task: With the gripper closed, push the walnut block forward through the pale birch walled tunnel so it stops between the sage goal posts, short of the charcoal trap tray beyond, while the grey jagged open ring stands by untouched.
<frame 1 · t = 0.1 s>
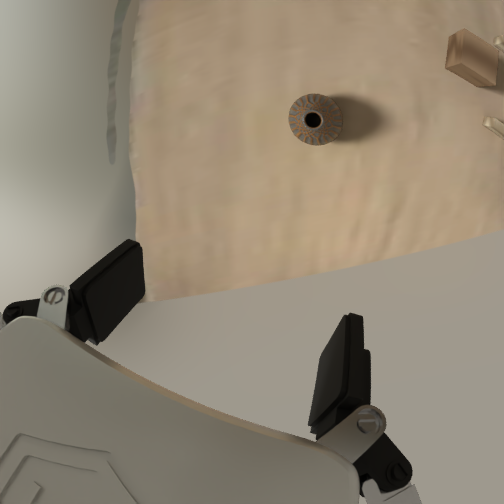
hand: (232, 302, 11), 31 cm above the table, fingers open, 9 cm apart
walnut block: (463, 61, 21), on the table
vase: (317, 119, 34), on the table
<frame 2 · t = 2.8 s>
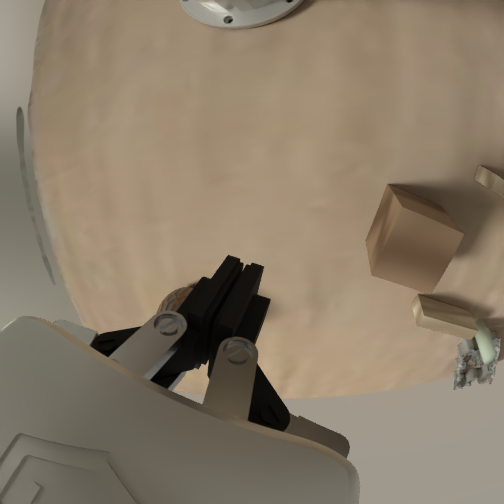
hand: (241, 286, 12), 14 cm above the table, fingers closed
grey jagged open ring: (472, 352, 27), on the table
tunnel: (476, 254, 21), on the table
walnut block: (403, 222, 23), on the table
vase: (197, 299, 35), on the table
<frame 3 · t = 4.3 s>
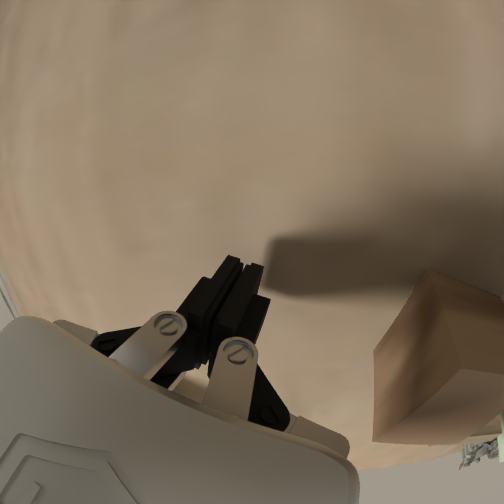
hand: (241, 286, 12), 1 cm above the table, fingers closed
grey jagged open ring: (486, 431, 17), on the table
walnut block: (439, 325, 12), on the table
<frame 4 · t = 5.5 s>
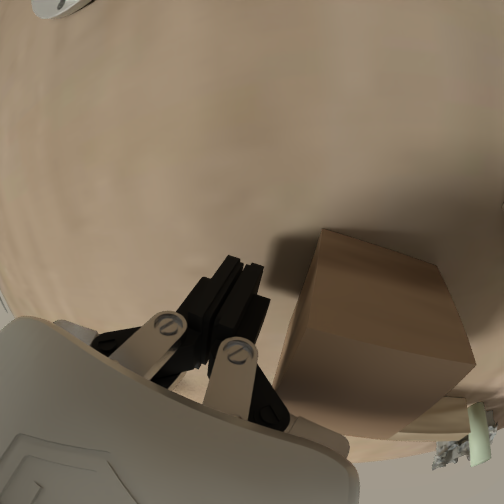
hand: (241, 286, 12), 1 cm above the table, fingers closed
grey jagged open ring: (461, 430, 17), on the table
tunnel: (487, 333, 11), on the table
walnut block: (360, 298, 13), on the table, touching gripper
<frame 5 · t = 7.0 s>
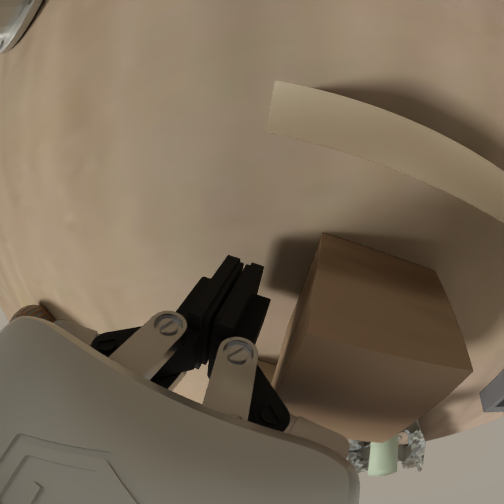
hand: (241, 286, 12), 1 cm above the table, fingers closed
goal posts: (453, 327, 12), on the table
grey jagged open ring: (386, 430, 19), on the table
tunnel: (341, 296, 13), on the table
walnut block: (359, 302, 13), on the table, touching gripper
vase: (49, 317, 27), on the table
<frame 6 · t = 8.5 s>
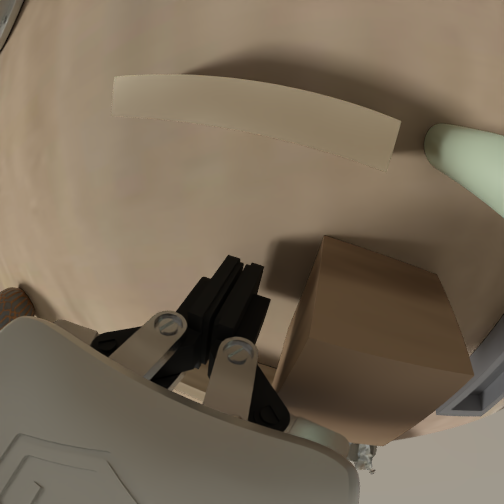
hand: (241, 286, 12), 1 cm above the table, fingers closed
goal posts: (373, 310, 12), on the table
grey jagged open ring: (332, 426, 20), on the table
tunnel: (232, 266, 14), on the table
walnut block: (360, 305, 13), on the table, touching gripper
vase: (27, 299, 28), on the table
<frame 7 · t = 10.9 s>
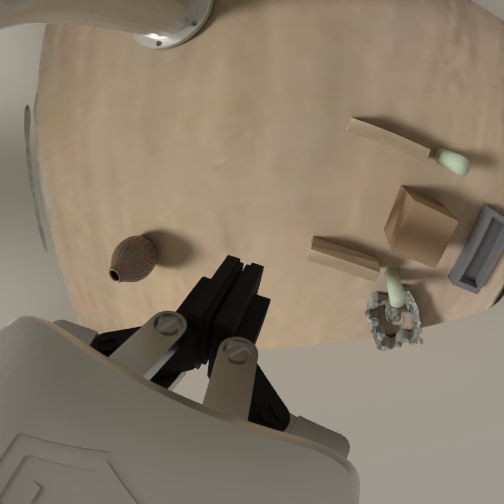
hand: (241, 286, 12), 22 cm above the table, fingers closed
goal posts: (418, 218, 29), on the table
grey jagged open ring: (393, 311, 36), on the table
tunnel: (365, 197, 30), on the table
walnut block: (413, 215, 29), on the table
vase: (147, 247, 44), on the table
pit: (480, 247, 27), on the table
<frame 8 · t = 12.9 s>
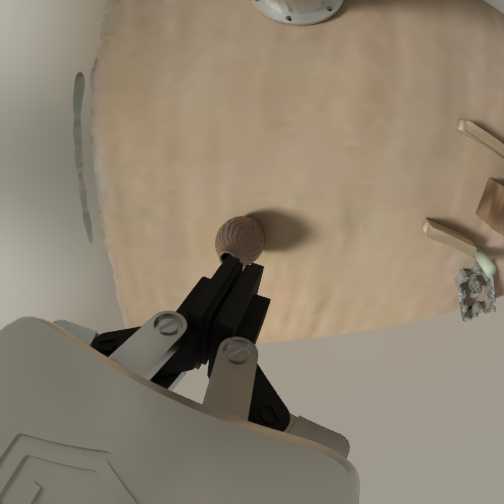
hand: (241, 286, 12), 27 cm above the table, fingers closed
goal posts: (497, 205, 27), on the table
grey jagged open ring: (471, 285, 35), on the table
tunnel: (465, 186, 28), on the table
walnut block: (494, 202, 27), on the table
vase: (247, 230, 42), on the table
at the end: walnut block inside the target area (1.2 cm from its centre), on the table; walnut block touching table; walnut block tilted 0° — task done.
